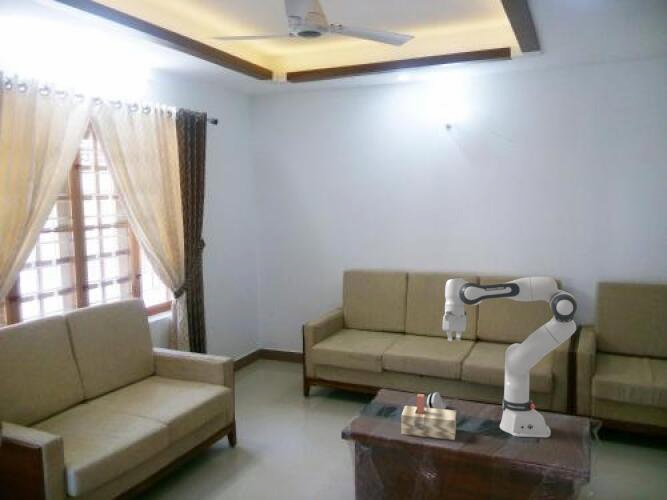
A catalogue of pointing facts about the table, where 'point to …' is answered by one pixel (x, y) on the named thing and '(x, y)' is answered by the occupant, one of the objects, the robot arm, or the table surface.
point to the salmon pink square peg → (420, 404)
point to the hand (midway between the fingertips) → (454, 341)
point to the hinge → (435, 401)
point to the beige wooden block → (429, 422)
